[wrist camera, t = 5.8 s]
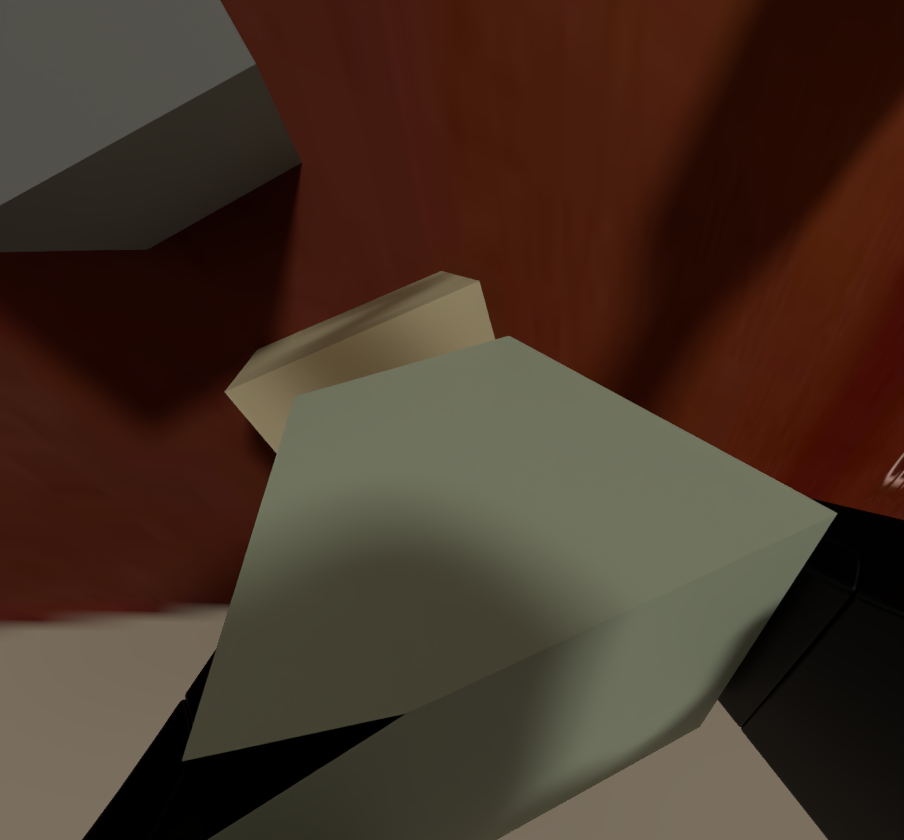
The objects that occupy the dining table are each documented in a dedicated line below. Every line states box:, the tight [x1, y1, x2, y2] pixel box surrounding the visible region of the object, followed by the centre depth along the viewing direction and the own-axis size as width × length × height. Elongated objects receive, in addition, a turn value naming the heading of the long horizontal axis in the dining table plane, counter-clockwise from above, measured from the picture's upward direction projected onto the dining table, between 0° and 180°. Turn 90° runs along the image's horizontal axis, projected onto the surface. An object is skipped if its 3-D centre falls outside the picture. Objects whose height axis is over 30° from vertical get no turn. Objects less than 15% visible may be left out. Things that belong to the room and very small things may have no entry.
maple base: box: [225, 271, 495, 453], centre depth 12 cm, size 7×7×4 cm
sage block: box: [182, 336, 837, 840], centre depth 6 cm, size 5×5×6 cm
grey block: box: [0, 0, 302, 252], centre depth 5 cm, size 5×5×6 cm
